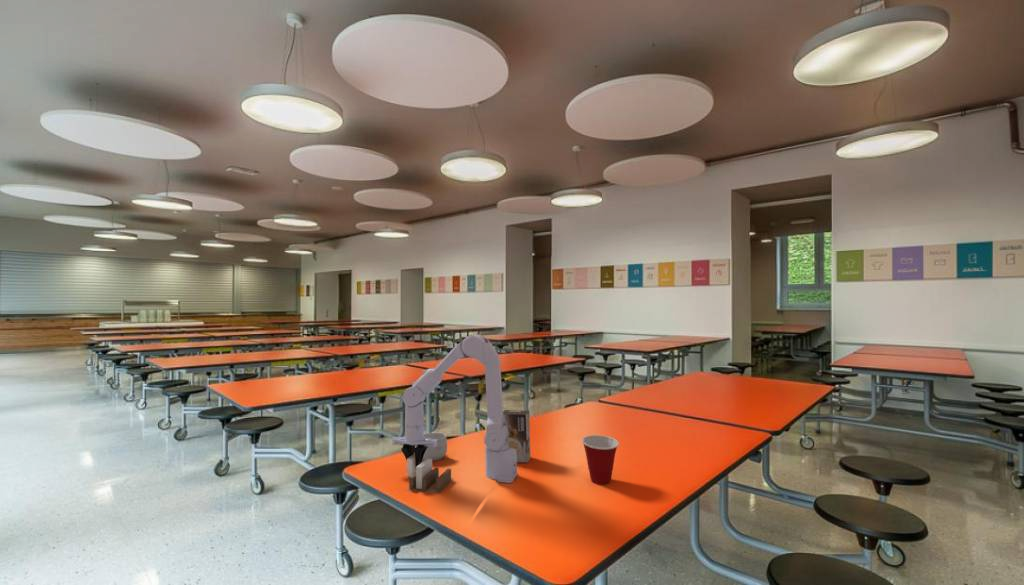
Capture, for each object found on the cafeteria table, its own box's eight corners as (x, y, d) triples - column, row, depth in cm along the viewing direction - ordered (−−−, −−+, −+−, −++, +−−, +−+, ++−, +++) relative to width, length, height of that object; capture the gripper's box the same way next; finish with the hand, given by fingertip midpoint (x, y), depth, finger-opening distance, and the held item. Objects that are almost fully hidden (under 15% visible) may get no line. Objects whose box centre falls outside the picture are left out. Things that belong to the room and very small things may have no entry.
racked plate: (432, 479, 128) (432, 459, 128) (422, 488, 121) (421, 467, 122) (426, 479, 129) (426, 458, 129) (416, 488, 122) (416, 466, 122)
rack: (453, 481, 129) (453, 467, 129) (439, 496, 118) (439, 481, 118) (423, 478, 131) (423, 465, 131) (406, 493, 120) (406, 479, 120)
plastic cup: (597, 491, 120) (596, 447, 120) (575, 478, 129) (574, 437, 130) (628, 483, 124) (626, 441, 125) (604, 471, 134) (603, 432, 135)
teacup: (440, 465, 142) (440, 441, 143) (410, 464, 144) (409, 439, 145) (454, 452, 156) (454, 429, 156) (426, 450, 158) (426, 428, 158)
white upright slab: (422, 471, 138) (422, 452, 138) (412, 479, 131) (412, 459, 131) (417, 470, 138) (417, 451, 138) (406, 478, 131) (406, 458, 131)
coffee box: (531, 457, 149) (530, 410, 150) (527, 463, 143) (526, 414, 144) (505, 455, 151) (505, 409, 152) (501, 461, 145) (500, 413, 146)
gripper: (441, 422, 137) (441, 465, 137) (399, 420, 141) (400, 463, 140) (431, 428, 130) (432, 474, 130) (388, 426, 134) (388, 470, 133)
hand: (414, 468), depth 134 cm, fingers closed on white upright slab, 2 cm apart
